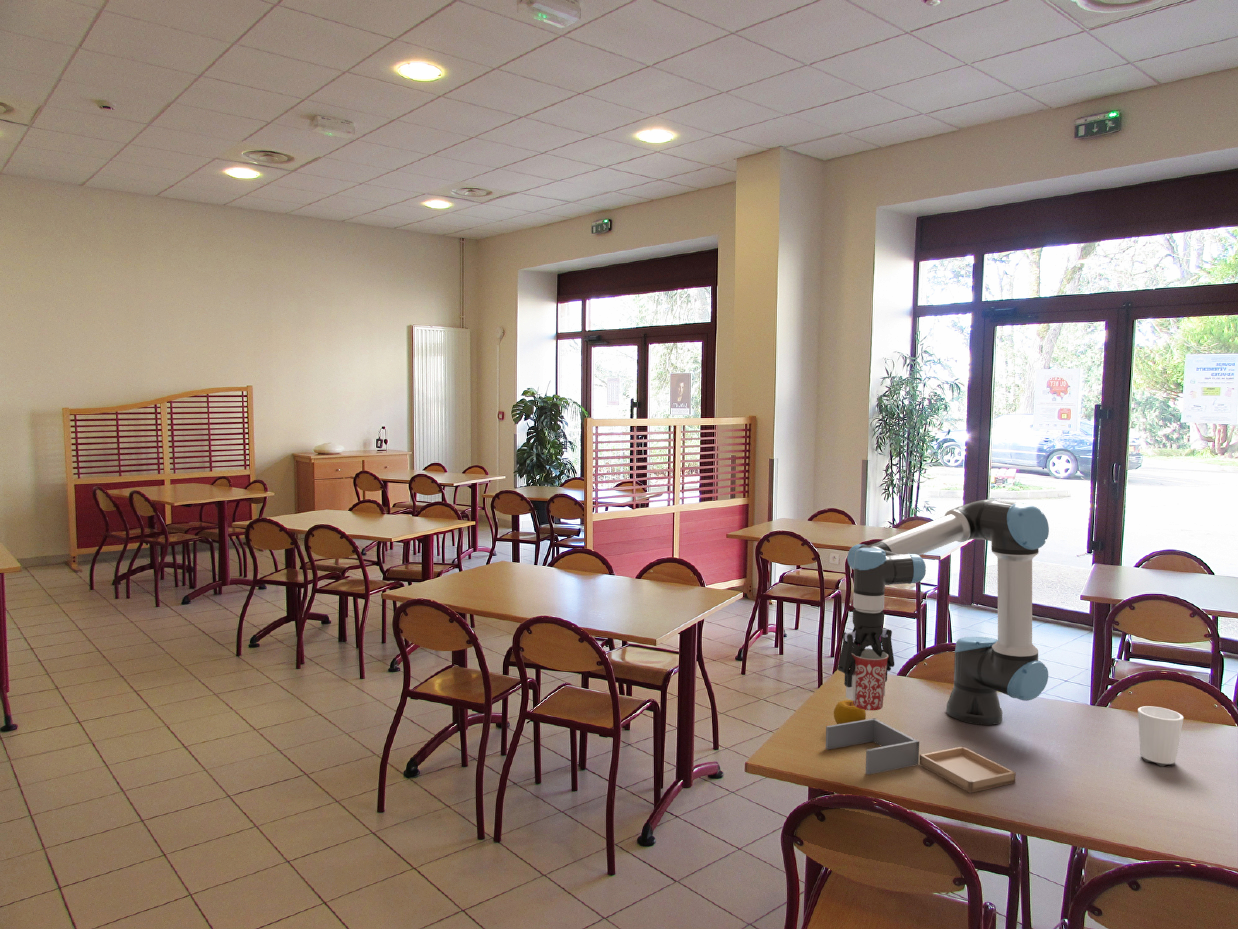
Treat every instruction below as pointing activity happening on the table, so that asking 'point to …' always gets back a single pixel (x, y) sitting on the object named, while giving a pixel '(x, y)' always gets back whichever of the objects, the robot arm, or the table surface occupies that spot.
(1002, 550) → the robot arm
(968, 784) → the tray
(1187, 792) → the table surface
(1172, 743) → the cup
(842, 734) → the bay
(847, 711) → the apple
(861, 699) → the mug
